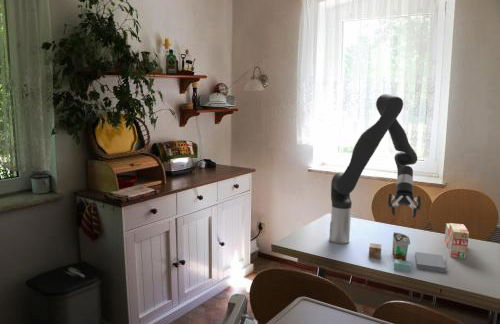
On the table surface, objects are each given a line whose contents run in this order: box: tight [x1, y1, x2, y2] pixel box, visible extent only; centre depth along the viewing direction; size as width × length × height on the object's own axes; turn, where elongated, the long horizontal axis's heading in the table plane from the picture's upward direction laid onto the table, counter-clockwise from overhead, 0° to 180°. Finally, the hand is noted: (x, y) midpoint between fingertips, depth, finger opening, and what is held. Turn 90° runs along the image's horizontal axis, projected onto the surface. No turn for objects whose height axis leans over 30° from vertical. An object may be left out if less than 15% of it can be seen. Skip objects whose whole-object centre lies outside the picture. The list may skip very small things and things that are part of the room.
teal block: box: [393, 259, 411, 273], centre depth 171 cm, size 6×4×3 cm, turn 68°
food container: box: [391, 232, 411, 261], centre depth 180 cm, size 12×6×10 cm, turn 168°
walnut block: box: [368, 242, 382, 260], centre depth 183 cm, size 5×5×5 cm
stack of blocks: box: [444, 222, 470, 260], centre depth 192 cm, size 21×6×12 cm, turn 162°
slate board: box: [414, 251, 447, 273], centre depth 176 cm, size 11×14×2 cm
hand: (403, 215), depth 189 cm, fingers open, 8 cm apart
